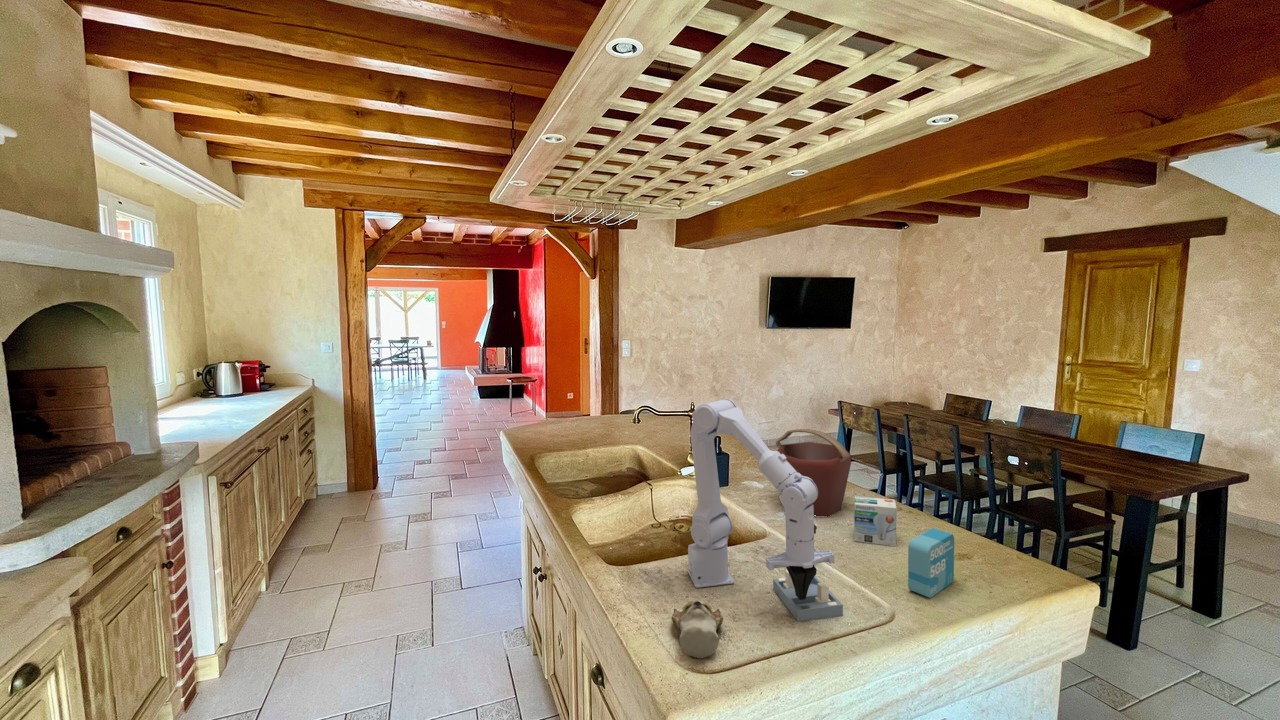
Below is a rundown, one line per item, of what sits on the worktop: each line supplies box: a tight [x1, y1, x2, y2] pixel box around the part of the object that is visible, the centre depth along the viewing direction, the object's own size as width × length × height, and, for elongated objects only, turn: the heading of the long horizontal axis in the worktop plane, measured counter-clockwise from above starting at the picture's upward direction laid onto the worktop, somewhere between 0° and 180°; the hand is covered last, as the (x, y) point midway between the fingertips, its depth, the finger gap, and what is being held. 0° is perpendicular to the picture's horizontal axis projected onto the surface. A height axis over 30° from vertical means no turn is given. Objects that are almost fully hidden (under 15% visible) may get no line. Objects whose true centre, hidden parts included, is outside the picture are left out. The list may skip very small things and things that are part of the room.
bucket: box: [775, 428, 852, 518], centre depth 167 cm, size 24×22×25 cm
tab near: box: [815, 582, 831, 604], centre depth 111 cm, size 3×2×4 cm
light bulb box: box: [853, 495, 898, 547], centre depth 143 cm, size 11×7×11 cm, turn 68°
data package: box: [907, 527, 955, 599], centre depth 118 cm, size 12×4×12 cm, turn 125°
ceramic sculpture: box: [671, 600, 724, 659], centre depth 103 cm, size 11×9×15 cm
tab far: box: [783, 569, 794, 589], centre depth 118 cm, size 3×2×4 cm
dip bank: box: [772, 575, 844, 623], centre depth 115 cm, size 10×13×2 cm
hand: (800, 597), depth 111 cm, fingers closed
